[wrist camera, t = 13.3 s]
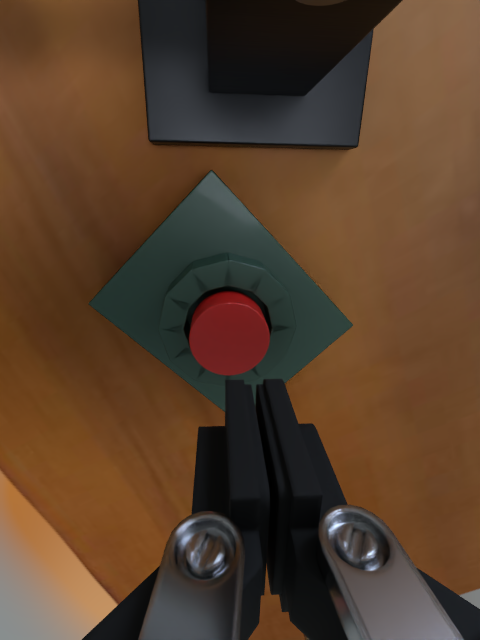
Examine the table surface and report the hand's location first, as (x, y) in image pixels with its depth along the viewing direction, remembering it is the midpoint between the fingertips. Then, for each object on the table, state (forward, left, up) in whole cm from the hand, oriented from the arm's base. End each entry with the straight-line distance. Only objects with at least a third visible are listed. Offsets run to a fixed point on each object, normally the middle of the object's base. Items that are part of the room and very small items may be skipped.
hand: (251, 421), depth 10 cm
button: (0, 0, -7) cm, 7 cm away
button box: (0, 0, -11) cm, 11 cm away
